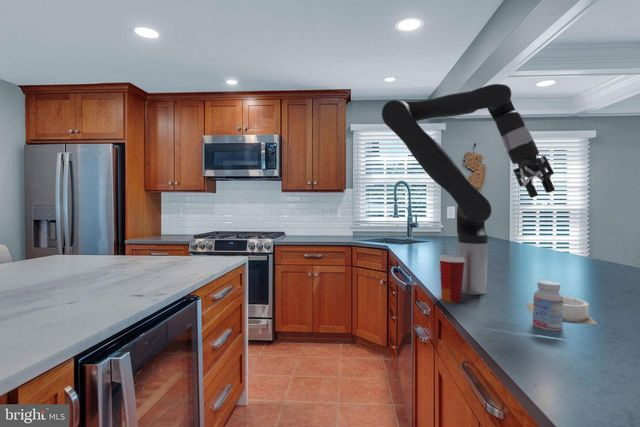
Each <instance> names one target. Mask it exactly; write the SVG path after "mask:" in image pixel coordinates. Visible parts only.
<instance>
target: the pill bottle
mask: <svg viewBox="0 0 640 427" xmlns="http://www.w3.org/2000/svg"><path fill="white" fill-rule="evenodd" d="M560 290H561V283H559V282H557V281H551V280H538V281H537V290H535V291H534V292H533V303H532V304H533V315H532V325H533V326H534V327H536V328H539V329H542V330H548V331H561V330H563V321H564V320H563V296H564V295H563V294H562V293H561V292H559V291H560Z"/></svg>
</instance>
